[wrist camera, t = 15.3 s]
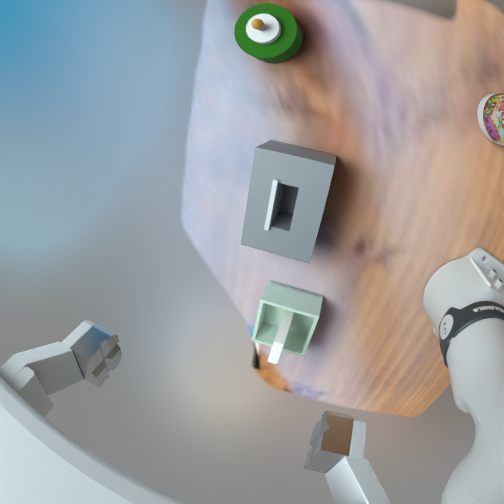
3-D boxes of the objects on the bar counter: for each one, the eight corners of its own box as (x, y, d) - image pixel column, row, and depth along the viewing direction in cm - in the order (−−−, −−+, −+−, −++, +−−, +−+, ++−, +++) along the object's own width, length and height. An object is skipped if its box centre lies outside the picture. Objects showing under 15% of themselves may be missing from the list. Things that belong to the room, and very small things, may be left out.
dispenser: (336, 155, 42) (334, 166, 35) (315, 240, 49) (308, 267, 42) (270, 140, 44) (254, 147, 36) (256, 224, 51) (239, 247, 44)
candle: (314, 35, 34) (305, 16, 26) (277, 74, 39) (259, 66, 30) (270, 4, 34) (250, -18, 25) (236, 42, 38) (208, 30, 29)
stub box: (323, 295, 53) (319, 316, 48) (308, 334, 58) (303, 356, 53) (269, 279, 55) (260, 299, 50) (260, 320, 60) (251, 340, 55)
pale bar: (297, 302, 54) (284, 344, 45) (290, 322, 57) (276, 364, 48) (288, 300, 55) (273, 341, 45) (282, 320, 57) (267, 361, 48)
